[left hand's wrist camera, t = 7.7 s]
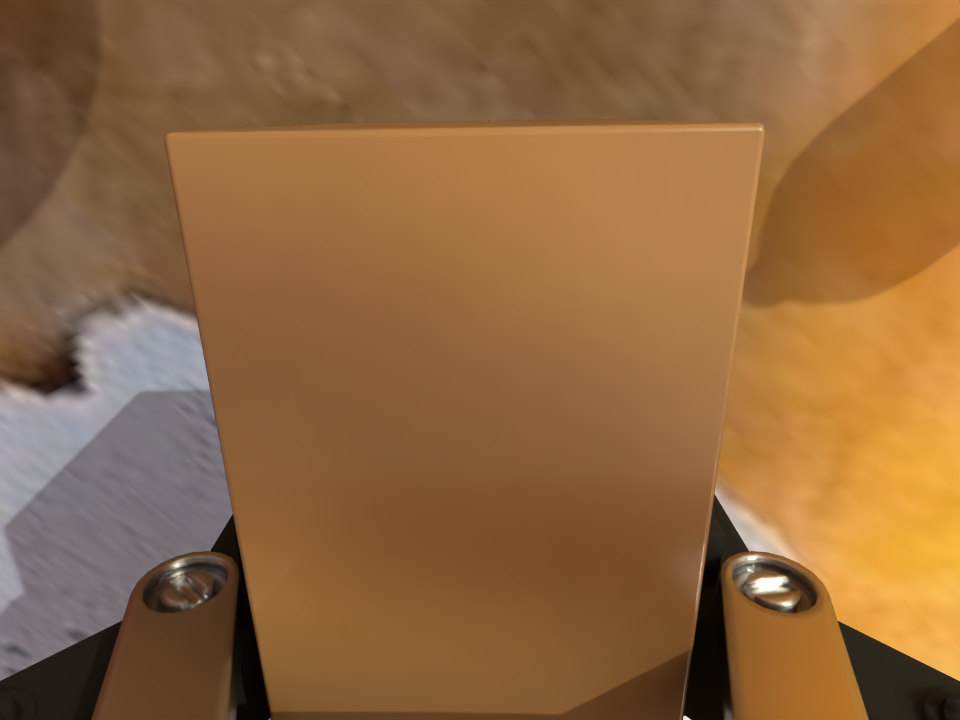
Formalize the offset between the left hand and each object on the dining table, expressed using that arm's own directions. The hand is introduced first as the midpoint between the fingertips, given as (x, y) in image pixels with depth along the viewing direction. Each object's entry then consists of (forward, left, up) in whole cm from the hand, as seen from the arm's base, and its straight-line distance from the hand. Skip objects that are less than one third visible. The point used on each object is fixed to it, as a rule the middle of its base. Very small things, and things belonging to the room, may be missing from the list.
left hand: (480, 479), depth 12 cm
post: (+20, -15, -3) cm, 25 cm away
